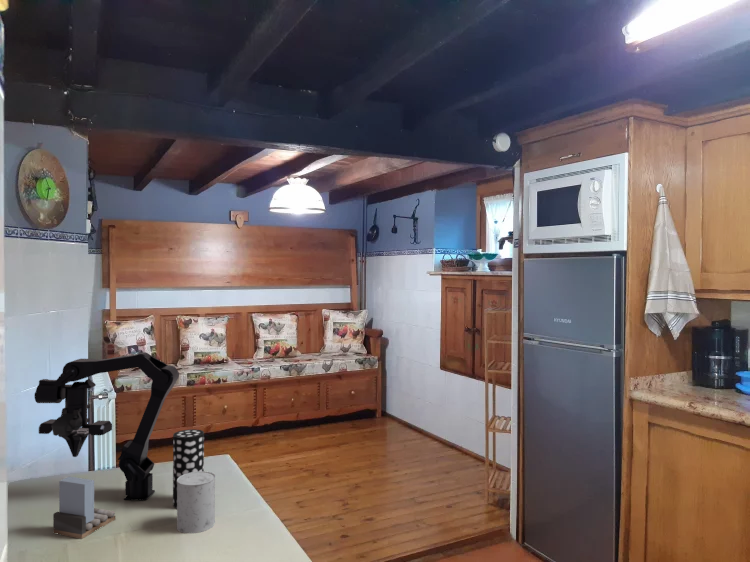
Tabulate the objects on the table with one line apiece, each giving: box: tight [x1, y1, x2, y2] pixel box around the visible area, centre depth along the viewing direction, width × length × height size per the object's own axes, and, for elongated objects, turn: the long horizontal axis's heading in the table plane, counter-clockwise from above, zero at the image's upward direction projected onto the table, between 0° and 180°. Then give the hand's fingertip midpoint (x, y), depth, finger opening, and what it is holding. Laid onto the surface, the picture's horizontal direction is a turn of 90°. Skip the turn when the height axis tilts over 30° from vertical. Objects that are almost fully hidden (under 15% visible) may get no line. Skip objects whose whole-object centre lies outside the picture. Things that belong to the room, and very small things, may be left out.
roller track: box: [52, 507, 116, 540], centre depth 140 cm, size 11×9×5 cm
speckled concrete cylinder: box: [176, 470, 216, 534], centre depth 141 cm, size 10×10×12 cm
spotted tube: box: [172, 428, 205, 509], centre depth 154 cm, size 8×8×20 cm
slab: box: [58, 476, 95, 523], centre depth 137 cm, size 3×8×10 cm, turn 73°
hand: (75, 456), depth 157 cm, fingers closed
